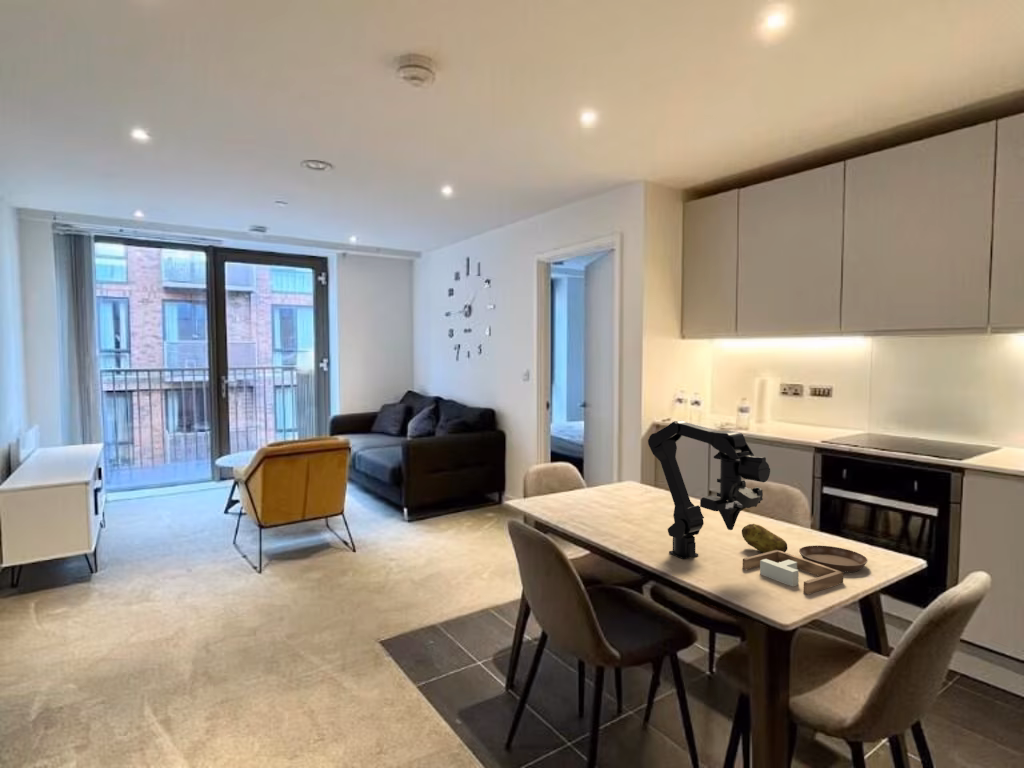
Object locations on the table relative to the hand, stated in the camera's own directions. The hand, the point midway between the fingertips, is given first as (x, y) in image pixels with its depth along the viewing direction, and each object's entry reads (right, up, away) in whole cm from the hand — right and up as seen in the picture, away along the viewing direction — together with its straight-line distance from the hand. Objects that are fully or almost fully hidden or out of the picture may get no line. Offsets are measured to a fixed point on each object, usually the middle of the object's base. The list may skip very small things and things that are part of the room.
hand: (730, 529), depth 164 cm
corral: (+15, -12, -4) cm, 20 cm away
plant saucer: (+33, -12, +6) cm, 35 cm away
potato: (+17, -11, +16) cm, 26 cm away
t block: (+13, -12, -4) cm, 19 cm away
